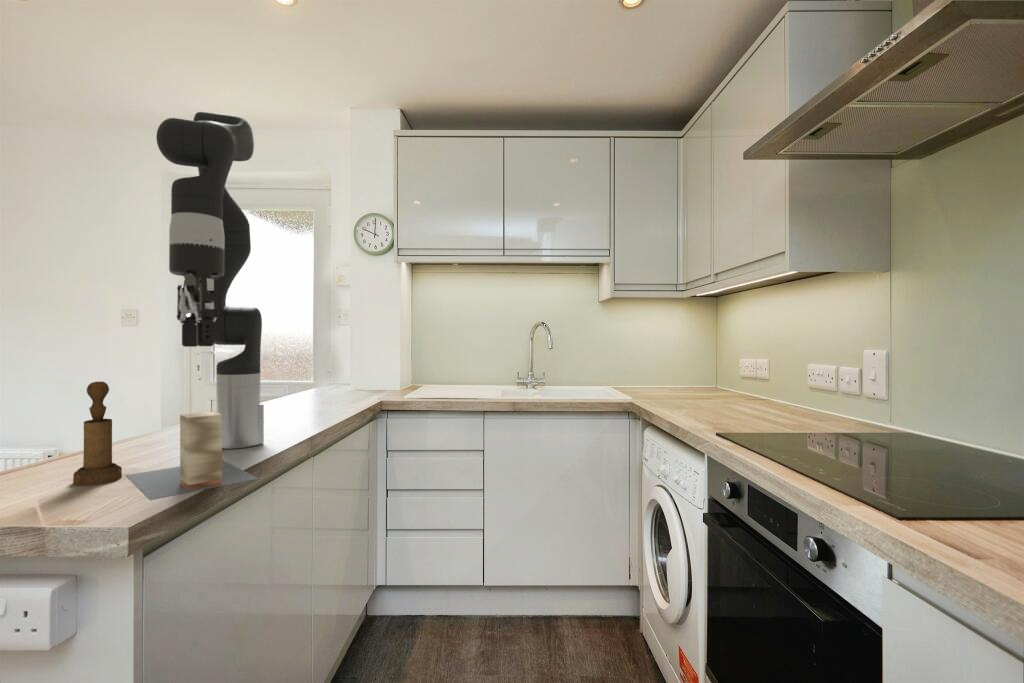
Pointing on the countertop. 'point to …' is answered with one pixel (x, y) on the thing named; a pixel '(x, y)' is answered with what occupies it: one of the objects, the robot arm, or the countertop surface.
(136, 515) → the countertop surface
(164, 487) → the slate mat
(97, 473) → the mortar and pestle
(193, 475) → the maple block
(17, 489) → the countertop surface
